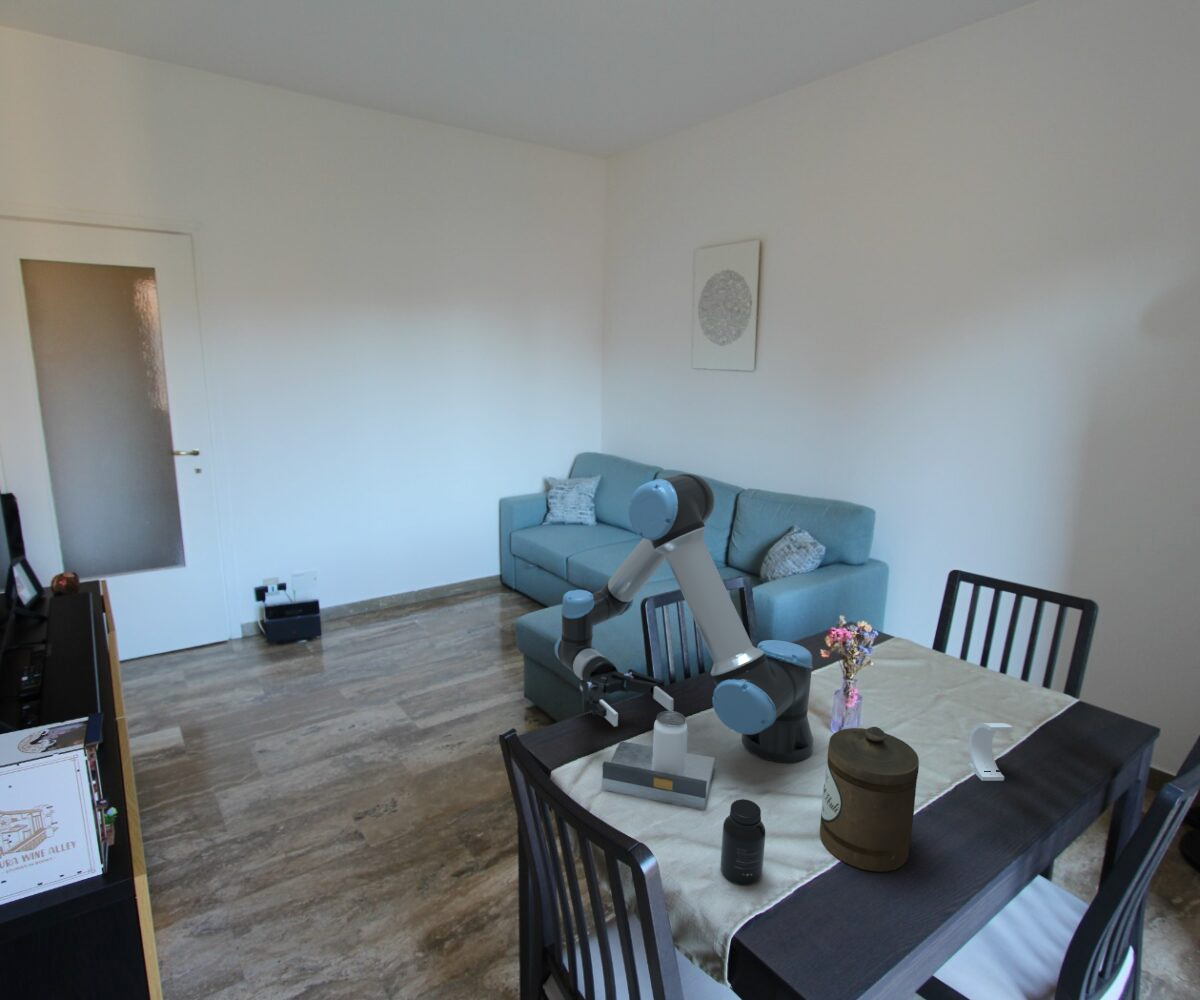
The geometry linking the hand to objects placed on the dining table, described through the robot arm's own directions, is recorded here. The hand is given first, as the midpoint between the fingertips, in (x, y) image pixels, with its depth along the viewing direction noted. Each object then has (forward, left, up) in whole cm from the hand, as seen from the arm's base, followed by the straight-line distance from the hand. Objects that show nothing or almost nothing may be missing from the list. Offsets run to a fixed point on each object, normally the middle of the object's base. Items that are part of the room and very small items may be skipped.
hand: (644, 712), depth 144 cm
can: (-7, +7, -9) cm, 13 cm away
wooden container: (-43, +12, -11) cm, 46 cm away
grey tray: (-5, +5, -11) cm, 13 cm away
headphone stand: (-69, -19, -11) cm, 72 cm away
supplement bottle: (-23, +26, -11) cm, 36 cm away
